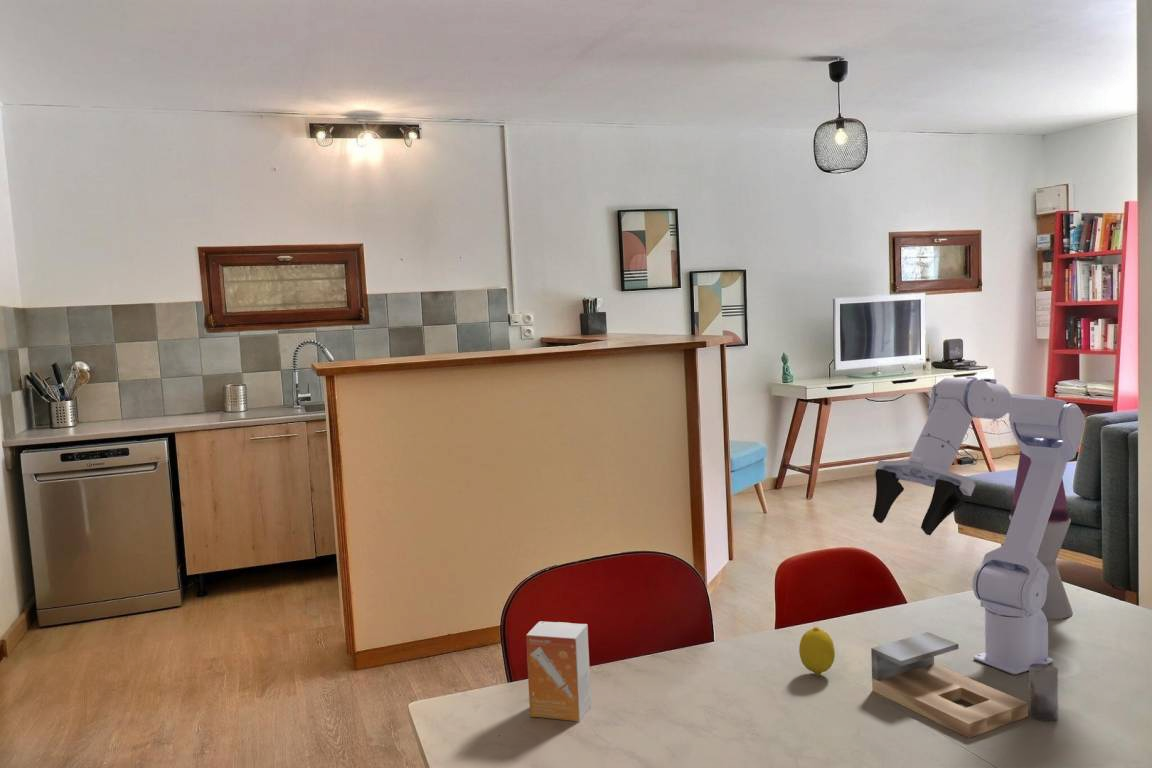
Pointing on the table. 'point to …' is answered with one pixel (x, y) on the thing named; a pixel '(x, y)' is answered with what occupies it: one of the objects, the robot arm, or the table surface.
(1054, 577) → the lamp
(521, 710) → the table surface
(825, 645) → the lemon
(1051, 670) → the peg
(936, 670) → the socket board
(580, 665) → the small box
